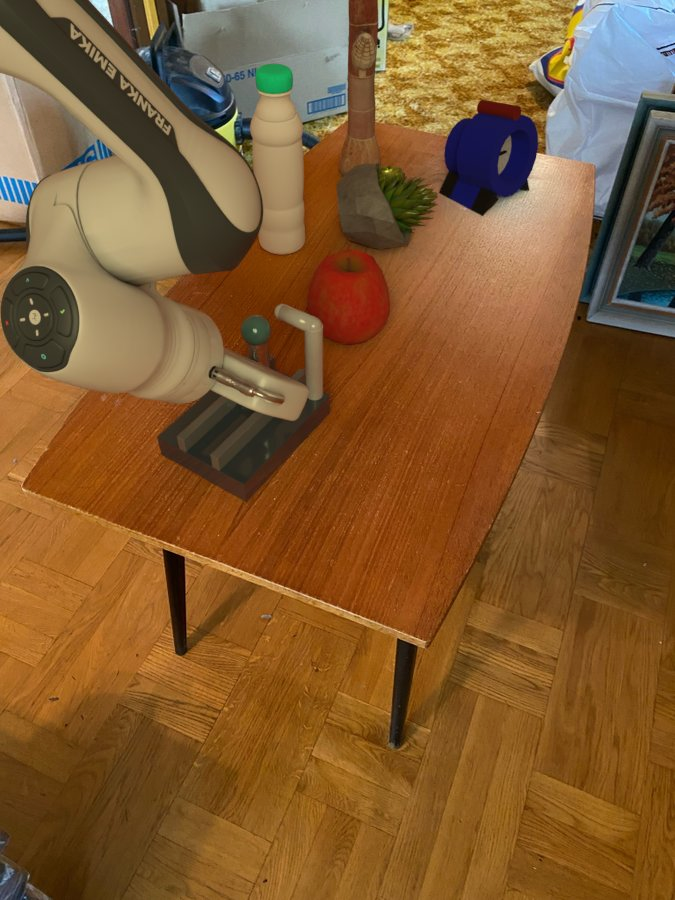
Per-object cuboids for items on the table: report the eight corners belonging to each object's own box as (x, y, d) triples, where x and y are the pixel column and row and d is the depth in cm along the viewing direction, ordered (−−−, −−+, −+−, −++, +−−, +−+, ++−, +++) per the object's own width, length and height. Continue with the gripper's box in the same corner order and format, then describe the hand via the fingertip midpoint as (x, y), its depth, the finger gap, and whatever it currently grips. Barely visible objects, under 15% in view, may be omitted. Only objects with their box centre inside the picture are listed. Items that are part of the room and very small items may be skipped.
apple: (327, 294, 100) (327, 225, 92) (400, 313, 97) (406, 244, 89) (294, 339, 93) (291, 269, 85) (372, 361, 90) (376, 291, 82)
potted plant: (346, 187, 113) (440, 169, 109) (353, 267, 112) (448, 251, 108) (324, 156, 101) (429, 134, 97) (331, 245, 101) (437, 226, 97)
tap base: (161, 454, 79) (136, 360, 69) (249, 374, 88) (239, 280, 78) (246, 502, 75) (233, 409, 65) (330, 413, 84) (330, 318, 74)
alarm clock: (485, 217, 114) (503, 123, 103) (429, 188, 120) (440, 95, 109) (533, 192, 119) (554, 100, 108) (477, 165, 125) (492, 75, 114)
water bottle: (308, 232, 110) (305, 59, 92) (302, 258, 106) (297, 81, 87) (263, 229, 111) (250, 56, 92) (255, 255, 106) (240, 78, 87)
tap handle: (240, 403, 81) (230, 322, 72) (261, 383, 83) (254, 302, 74) (262, 415, 80) (255, 334, 71) (283, 394, 82) (278, 313, 73)
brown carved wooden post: (346, 157, 127) (351, -42, 104) (386, 163, 126) (399, -37, 103) (329, 185, 120) (330, -21, 98) (371, 192, 119) (382, -15, 96)
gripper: (280, 363, 59) (342, 383, 72) (103, 282, 66) (188, 313, 79) (251, 432, 60) (317, 439, 73) (79, 345, 67) (167, 365, 80)
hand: (248, 373), depth 76 cm, fingers closed
